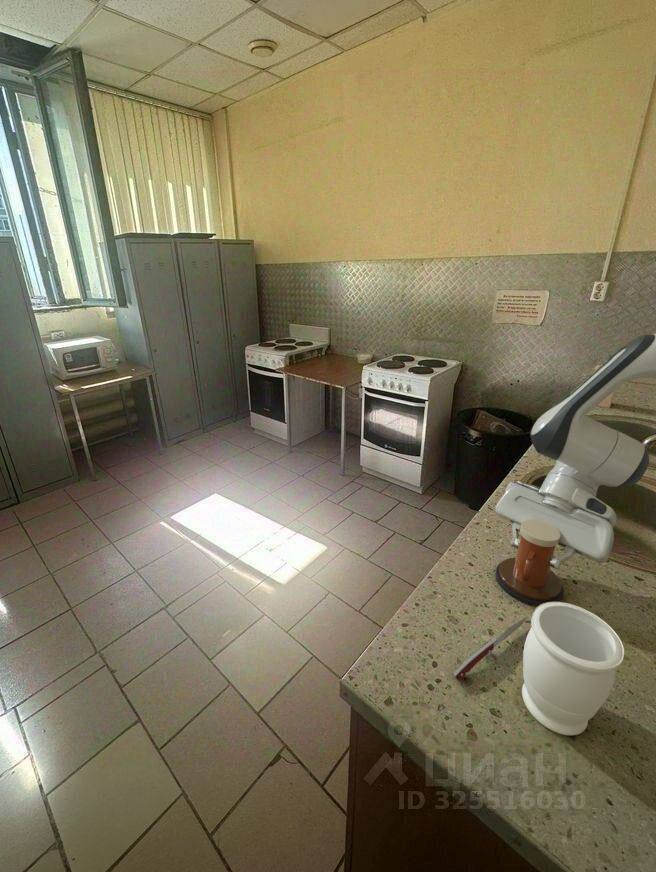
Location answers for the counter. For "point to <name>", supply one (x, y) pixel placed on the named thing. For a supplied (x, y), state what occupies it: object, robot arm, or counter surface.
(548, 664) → the jar
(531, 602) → the base
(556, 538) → the coffee mug with lid
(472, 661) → the knife
